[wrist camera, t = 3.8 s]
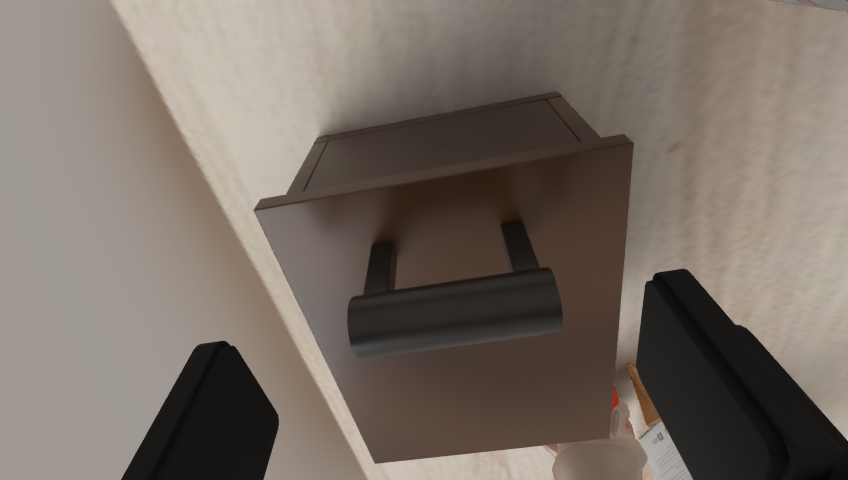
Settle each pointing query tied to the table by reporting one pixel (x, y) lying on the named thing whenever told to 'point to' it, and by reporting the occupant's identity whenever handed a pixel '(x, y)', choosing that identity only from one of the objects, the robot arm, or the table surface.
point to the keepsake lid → (466, 296)
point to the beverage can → (821, 4)
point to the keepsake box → (442, 141)
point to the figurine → (608, 445)
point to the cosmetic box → (663, 455)
